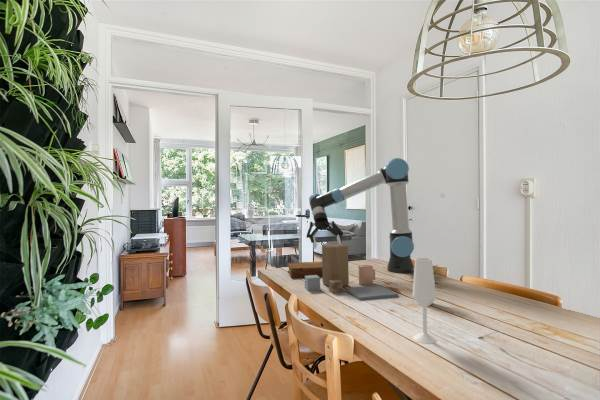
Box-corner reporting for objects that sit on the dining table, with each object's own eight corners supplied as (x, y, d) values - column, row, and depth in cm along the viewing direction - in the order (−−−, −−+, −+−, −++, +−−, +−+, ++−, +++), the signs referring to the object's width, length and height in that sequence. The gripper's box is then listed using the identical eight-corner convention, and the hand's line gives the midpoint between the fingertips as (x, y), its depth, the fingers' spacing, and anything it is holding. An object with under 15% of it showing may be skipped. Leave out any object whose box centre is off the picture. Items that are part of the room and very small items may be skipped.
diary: (291, 279, 188) (290, 268, 188) (287, 272, 207) (287, 262, 207) (332, 276, 192) (331, 266, 192) (324, 270, 210) (324, 260, 210)
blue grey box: (316, 287, 168) (316, 274, 168) (320, 290, 162) (320, 277, 162) (304, 288, 167) (304, 275, 167) (307, 291, 161) (307, 278, 161)
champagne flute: (421, 332, 108) (419, 256, 108) (441, 339, 102) (439, 258, 103) (408, 338, 104) (407, 258, 104) (429, 345, 98) (427, 261, 98)
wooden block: (321, 284, 174) (321, 244, 174) (338, 281, 178) (338, 243, 178) (331, 288, 165) (331, 246, 165) (349, 285, 169) (348, 245, 169)
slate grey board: (381, 287, 164) (381, 285, 164) (398, 296, 148) (398, 293, 148) (345, 290, 160) (345, 288, 160) (359, 300, 144) (359, 297, 144)
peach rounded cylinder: (362, 286, 168) (361, 267, 168) (356, 283, 174) (356, 265, 174) (377, 285, 169) (377, 266, 169) (371, 281, 176) (371, 264, 176)
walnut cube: (339, 290, 162) (338, 279, 162) (342, 292, 157) (342, 281, 157) (328, 290, 161) (328, 280, 161) (332, 293, 156) (332, 282, 156)
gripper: (339, 220, 199) (349, 249, 184) (297, 221, 194) (303, 251, 179) (342, 211, 194) (352, 241, 179) (299, 212, 189) (306, 242, 174)
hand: (328, 246), depth 179 cm, fingers open, 13 cm apart
